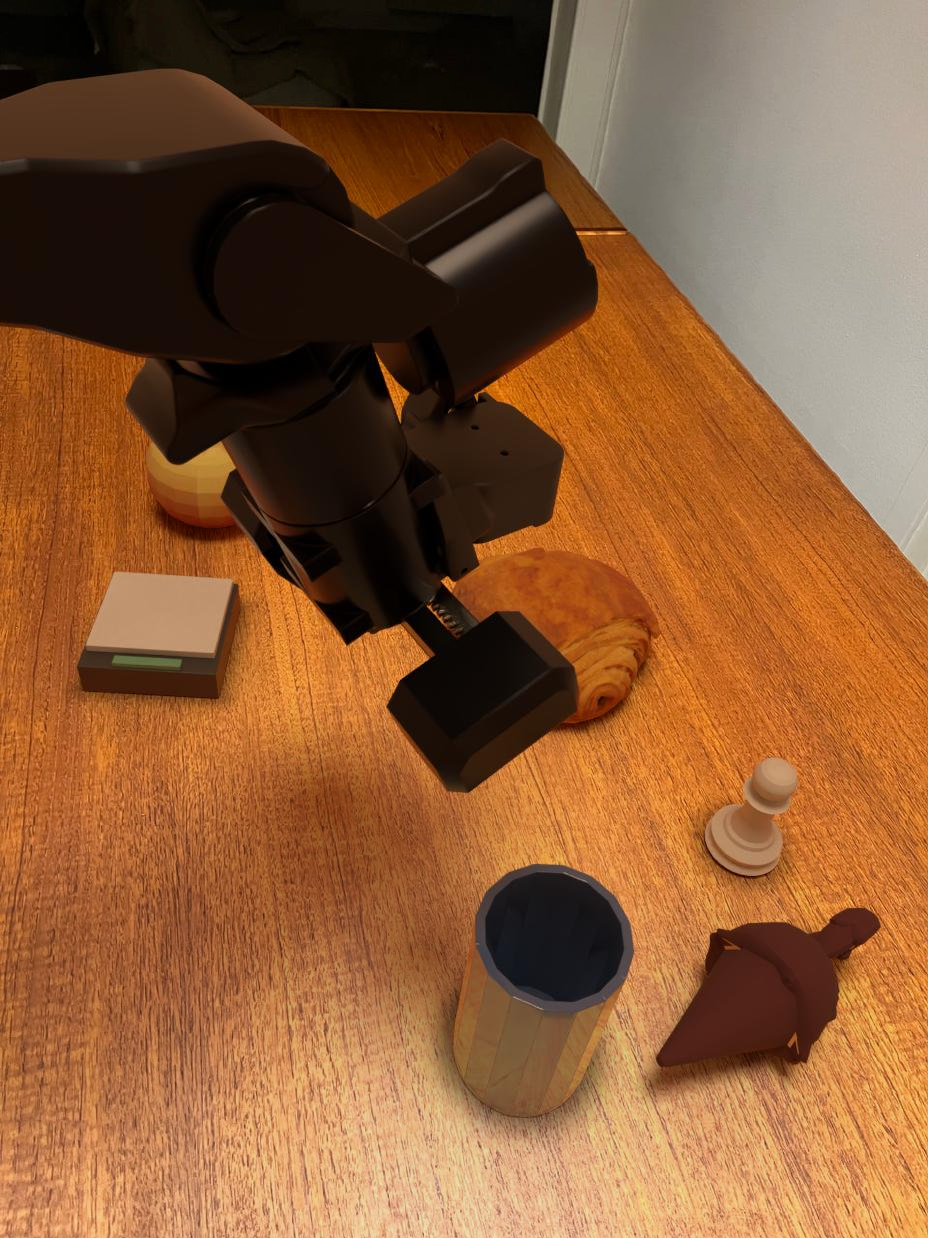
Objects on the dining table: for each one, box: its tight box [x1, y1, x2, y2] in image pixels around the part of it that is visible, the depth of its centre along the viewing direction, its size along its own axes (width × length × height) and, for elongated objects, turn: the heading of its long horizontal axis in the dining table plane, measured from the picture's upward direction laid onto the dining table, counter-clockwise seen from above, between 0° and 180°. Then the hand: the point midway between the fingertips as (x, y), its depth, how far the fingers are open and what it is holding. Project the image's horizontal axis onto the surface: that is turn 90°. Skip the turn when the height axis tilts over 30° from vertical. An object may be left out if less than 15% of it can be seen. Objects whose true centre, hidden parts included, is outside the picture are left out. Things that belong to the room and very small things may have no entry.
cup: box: [452, 863, 635, 1118], centre depth 46 cm, size 7×7×12 cm
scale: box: [76, 571, 242, 699], centre depth 67 cm, size 9×9×3 cm
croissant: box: [451, 547, 661, 724], centre depth 69 cm, size 14×16×8 cm
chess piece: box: [704, 757, 799, 877], centre depth 58 cm, size 5×5×8 cm
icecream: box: [655, 907, 882, 1069], centre depth 50 cm, size 7×7×15 cm
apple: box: [145, 440, 237, 529], centre depth 77 cm, size 10×10×8 cm
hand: (429, 686), depth 47 cm, fingers open, 9 cm apart
